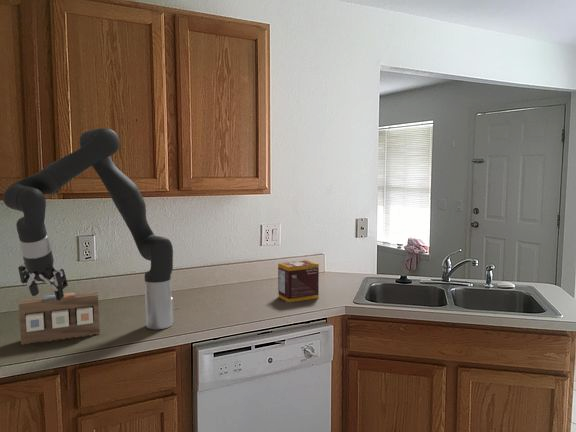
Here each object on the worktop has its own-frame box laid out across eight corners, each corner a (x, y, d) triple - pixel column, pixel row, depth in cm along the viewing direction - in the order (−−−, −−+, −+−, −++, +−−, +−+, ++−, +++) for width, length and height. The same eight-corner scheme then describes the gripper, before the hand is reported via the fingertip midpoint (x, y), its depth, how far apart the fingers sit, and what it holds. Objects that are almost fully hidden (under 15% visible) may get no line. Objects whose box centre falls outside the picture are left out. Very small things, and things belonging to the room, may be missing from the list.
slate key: (27, 327, 154) (26, 313, 154) (44, 325, 157) (43, 311, 156) (26, 332, 150) (25, 317, 150) (43, 329, 152) (43, 315, 152)
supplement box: (319, 298, 206) (319, 263, 204) (288, 302, 199) (288, 267, 198) (307, 292, 215) (307, 259, 214) (278, 297, 208) (277, 263, 207)
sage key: (53, 324, 158) (52, 310, 157) (69, 322, 160) (68, 308, 159) (52, 328, 153) (51, 314, 153) (69, 326, 155) (68, 312, 155)
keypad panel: (22, 339, 157) (20, 297, 156) (99, 329, 167) (97, 289, 166) (21, 345, 152) (18, 301, 151) (99, 334, 162) (97, 293, 161)
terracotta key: (77, 321, 161) (76, 307, 160) (92, 319, 163) (92, 305, 162) (77, 325, 156) (76, 311, 156) (93, 323, 159) (92, 309, 158)
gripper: (66, 248, 136) (76, 293, 143) (25, 241, 139) (36, 286, 146) (49, 260, 129) (59, 308, 136) (5, 253, 132) (18, 300, 139)
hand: (47, 296), depth 141 cm, fingers open, 8 cm apart
